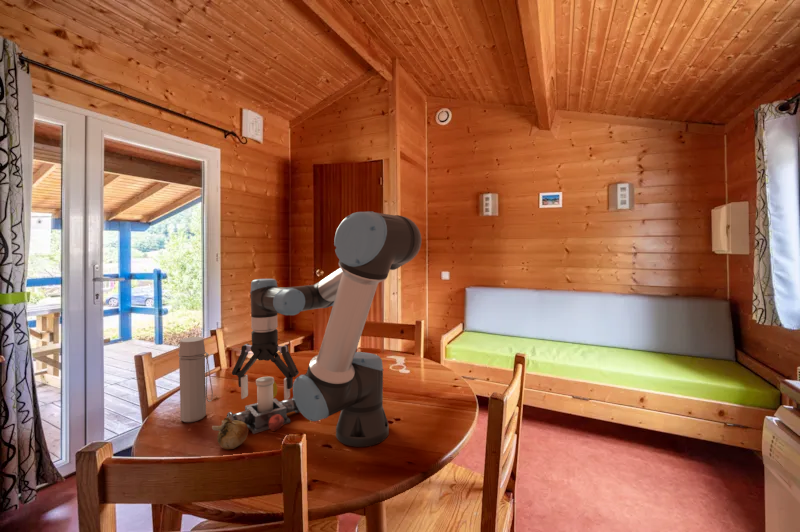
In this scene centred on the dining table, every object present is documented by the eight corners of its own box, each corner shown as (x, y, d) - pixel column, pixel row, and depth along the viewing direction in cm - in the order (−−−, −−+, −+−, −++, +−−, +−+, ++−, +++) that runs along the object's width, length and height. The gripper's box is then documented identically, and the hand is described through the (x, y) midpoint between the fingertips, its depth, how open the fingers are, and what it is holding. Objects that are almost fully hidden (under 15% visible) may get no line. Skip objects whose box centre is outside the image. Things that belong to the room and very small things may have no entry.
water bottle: (176, 425, 109) (174, 343, 108) (184, 414, 117) (182, 337, 116) (210, 421, 112) (208, 341, 111) (215, 410, 120) (213, 335, 118)
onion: (235, 456, 93) (234, 425, 93) (209, 451, 96) (209, 421, 95) (254, 441, 101) (254, 413, 100) (230, 437, 103) (229, 409, 102)
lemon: (272, 405, 124) (271, 382, 123) (257, 404, 125) (256, 381, 124) (280, 399, 129) (280, 376, 129) (266, 397, 130) (265, 375, 130)
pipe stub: (277, 418, 112) (276, 379, 112) (260, 423, 109) (259, 383, 108) (270, 412, 116) (270, 375, 116) (254, 417, 113) (253, 379, 112)
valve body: (310, 421, 112) (309, 403, 112) (238, 444, 99) (238, 424, 99) (291, 406, 123) (291, 389, 123) (224, 424, 110) (224, 406, 110)
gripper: (308, 327, 114) (309, 394, 115) (232, 326, 116) (233, 391, 117) (299, 333, 106) (300, 404, 107) (218, 331, 109) (220, 401, 109)
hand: (265, 398), depth 112 cm, fingers open, 13 cm apart
